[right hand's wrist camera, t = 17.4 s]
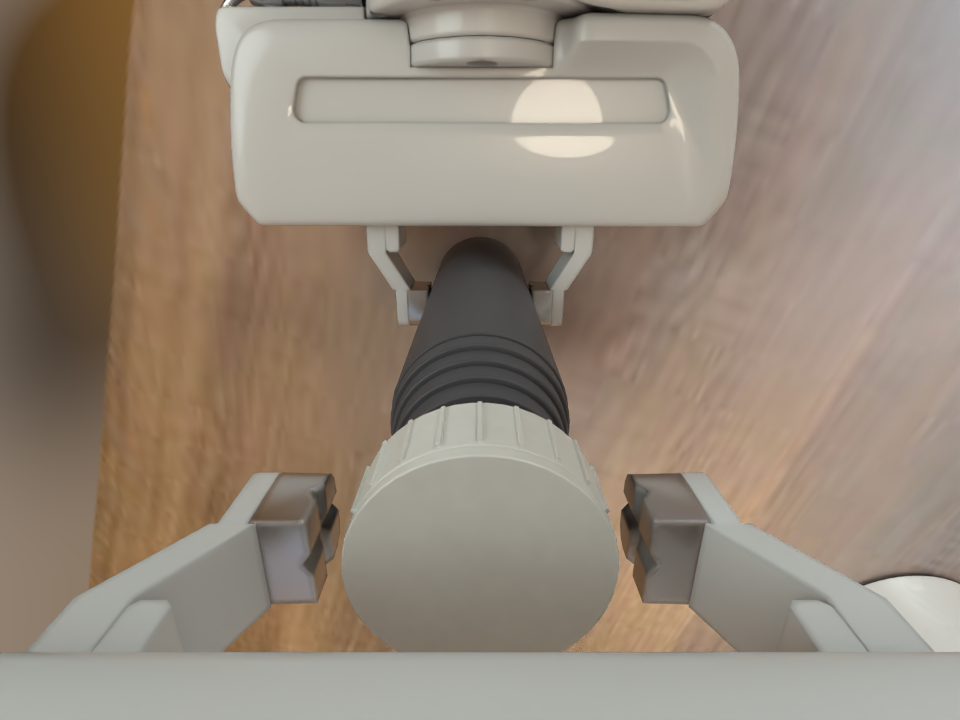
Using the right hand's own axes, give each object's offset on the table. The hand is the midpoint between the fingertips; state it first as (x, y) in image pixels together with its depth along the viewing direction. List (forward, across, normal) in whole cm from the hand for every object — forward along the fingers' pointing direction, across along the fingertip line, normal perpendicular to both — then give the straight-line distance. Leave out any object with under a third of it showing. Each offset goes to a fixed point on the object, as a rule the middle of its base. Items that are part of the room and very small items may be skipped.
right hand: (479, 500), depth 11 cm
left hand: (+15, 0, -1) cm, 15 cm away
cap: (-2, 0, 0) cm, 2 cm away
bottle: (+20, 0, 0) cm, 20 cm away
